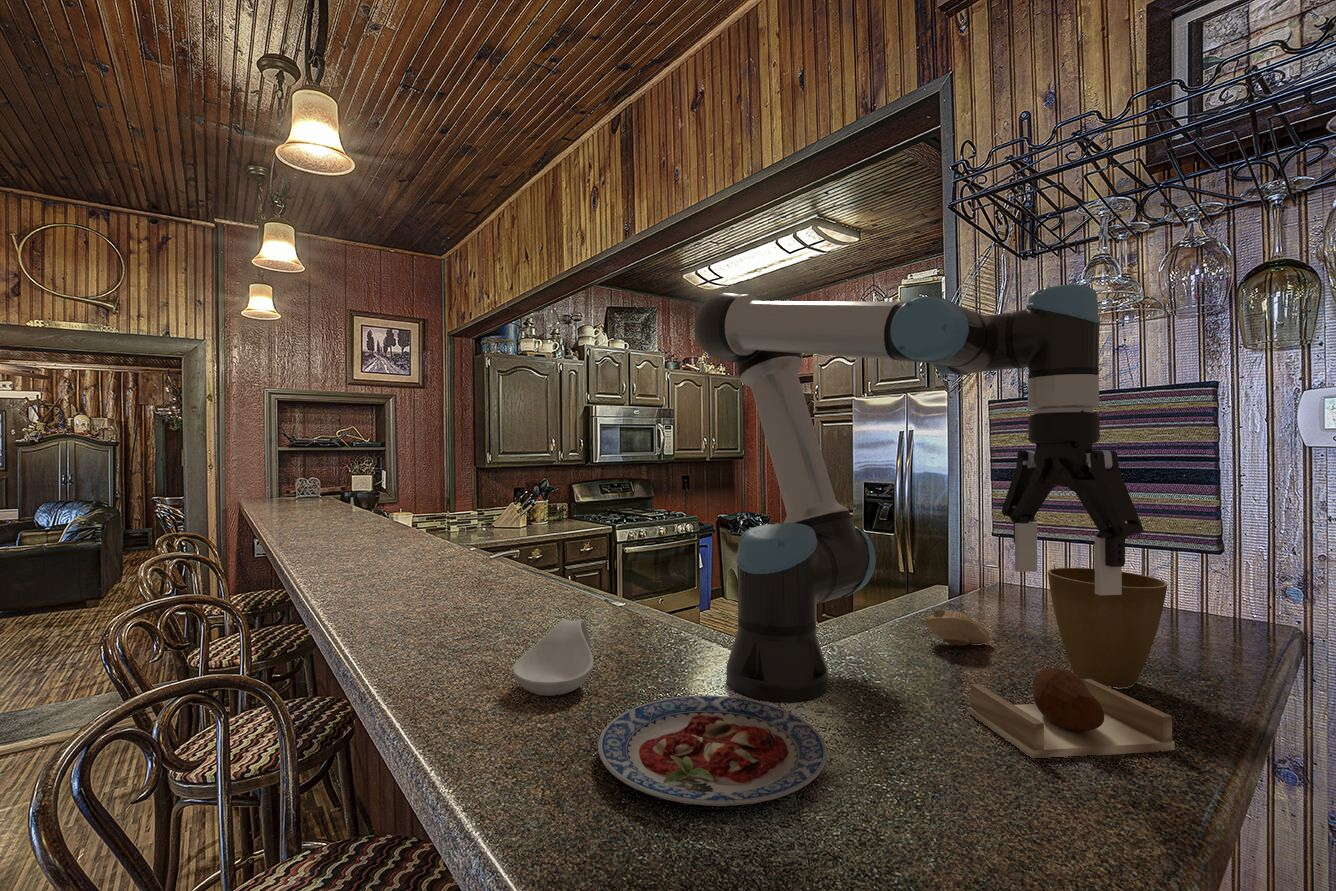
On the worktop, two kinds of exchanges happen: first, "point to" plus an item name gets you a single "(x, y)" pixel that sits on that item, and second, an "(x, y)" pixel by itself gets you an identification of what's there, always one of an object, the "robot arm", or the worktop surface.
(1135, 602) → the plant pot
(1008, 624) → the worktop surface
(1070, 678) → the potato
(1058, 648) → the worktop surface
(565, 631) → the spoon rest
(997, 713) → the tray
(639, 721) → the ceramic plate
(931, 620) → the pottery oil lamp
